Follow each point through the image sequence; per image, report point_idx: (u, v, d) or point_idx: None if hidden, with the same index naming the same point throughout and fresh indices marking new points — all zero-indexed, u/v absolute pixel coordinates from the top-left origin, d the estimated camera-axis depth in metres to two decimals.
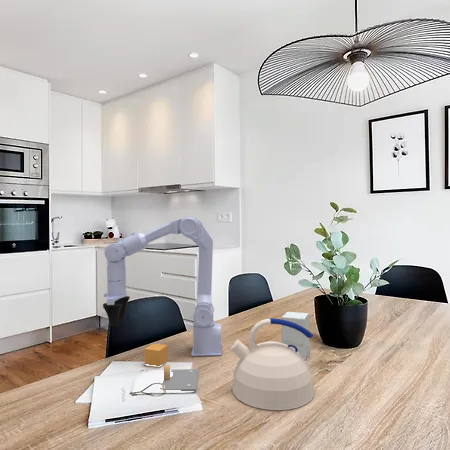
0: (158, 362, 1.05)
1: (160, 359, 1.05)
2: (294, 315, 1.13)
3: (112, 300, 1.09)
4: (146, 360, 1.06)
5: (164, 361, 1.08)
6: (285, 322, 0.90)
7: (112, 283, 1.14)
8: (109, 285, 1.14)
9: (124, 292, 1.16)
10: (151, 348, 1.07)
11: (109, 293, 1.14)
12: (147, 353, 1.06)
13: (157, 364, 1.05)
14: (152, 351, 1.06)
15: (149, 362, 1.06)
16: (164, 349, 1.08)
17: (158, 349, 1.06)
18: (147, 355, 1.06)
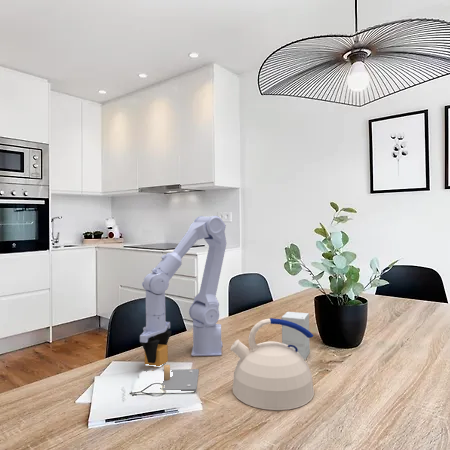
0: (158, 362, 1.05)
1: (160, 359, 1.05)
2: (294, 315, 1.13)
3: (145, 337, 1.01)
4: (146, 360, 1.06)
5: (164, 361, 1.08)
6: (285, 322, 0.90)
7: (149, 317, 1.05)
8: (146, 319, 1.06)
9: (162, 327, 1.06)
10: None
11: (147, 327, 1.06)
12: None
13: (157, 364, 1.05)
14: None
15: None
16: (164, 349, 1.08)
17: (158, 349, 1.06)
18: None
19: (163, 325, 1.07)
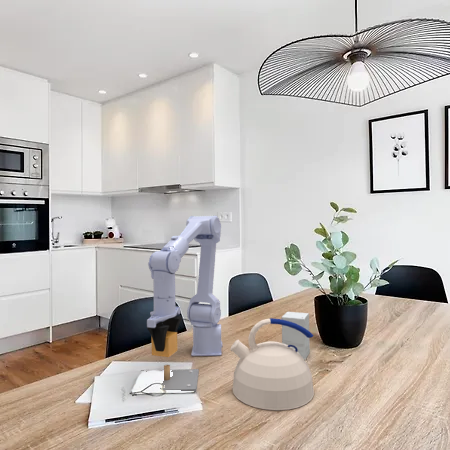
0: (167, 351, 0.93)
1: (169, 347, 0.94)
2: (294, 315, 1.13)
3: (153, 322, 0.89)
4: (153, 349, 0.95)
5: (173, 350, 0.96)
6: (285, 322, 0.90)
7: (157, 300, 0.94)
8: (154, 302, 0.94)
9: (172, 312, 0.95)
10: None
11: (154, 312, 0.95)
12: None
13: (166, 353, 0.93)
14: None
15: (157, 351, 0.94)
16: (173, 336, 0.96)
17: (167, 336, 0.94)
18: None
19: (173, 309, 0.95)
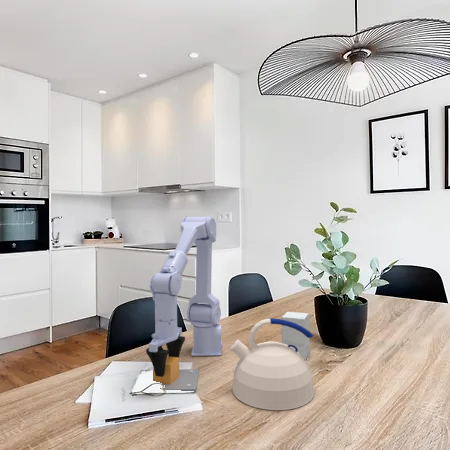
0: (169, 378, 0.92)
1: (171, 374, 0.93)
2: (294, 315, 1.13)
3: (154, 346, 0.88)
4: (155, 375, 0.93)
5: (176, 376, 0.95)
6: (285, 322, 0.90)
7: (159, 323, 0.93)
8: (156, 325, 0.93)
9: (174, 334, 0.93)
10: None
11: (156, 334, 0.93)
12: None
13: (168, 380, 0.92)
14: None
15: (159, 378, 0.93)
16: (175, 362, 0.95)
17: (169, 363, 0.93)
18: None
19: (175, 332, 0.94)
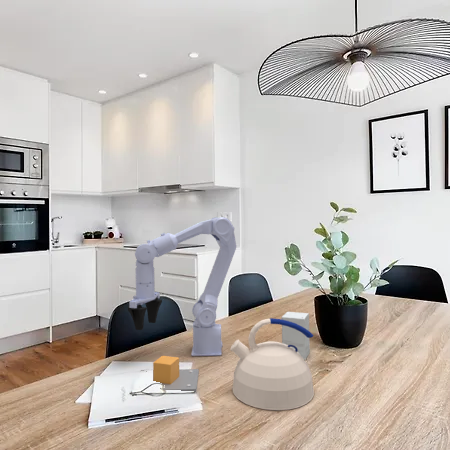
0: (169, 378, 0.92)
1: (171, 374, 0.93)
2: (294, 315, 1.13)
3: (134, 303, 1.06)
4: (155, 375, 0.93)
5: (176, 376, 0.95)
6: (285, 322, 0.90)
7: (138, 285, 1.10)
8: (136, 287, 1.11)
9: (151, 295, 1.11)
10: (161, 361, 0.94)
11: (136, 295, 1.11)
12: (156, 367, 0.93)
13: (168, 380, 0.92)
14: (162, 365, 0.93)
15: (159, 378, 0.93)
16: (175, 362, 0.95)
17: (169, 363, 0.93)
18: (156, 370, 0.93)
19: (152, 293, 1.11)
